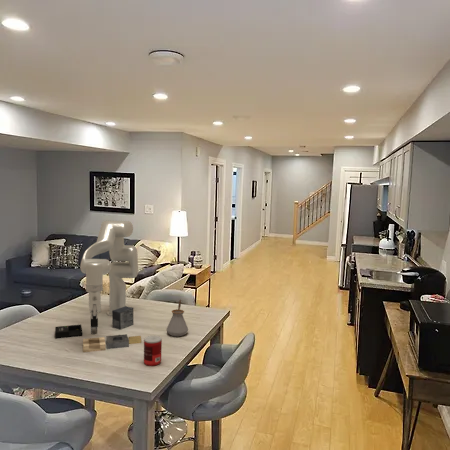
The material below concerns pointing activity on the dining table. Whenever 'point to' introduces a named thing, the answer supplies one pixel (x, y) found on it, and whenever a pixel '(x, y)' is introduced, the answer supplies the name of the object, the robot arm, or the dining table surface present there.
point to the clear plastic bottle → (94, 329)
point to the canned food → (152, 350)
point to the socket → (117, 341)
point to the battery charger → (68, 331)
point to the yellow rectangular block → (134, 339)
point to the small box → (122, 317)
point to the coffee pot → (177, 323)
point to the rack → (94, 344)
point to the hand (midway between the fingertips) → (94, 325)
